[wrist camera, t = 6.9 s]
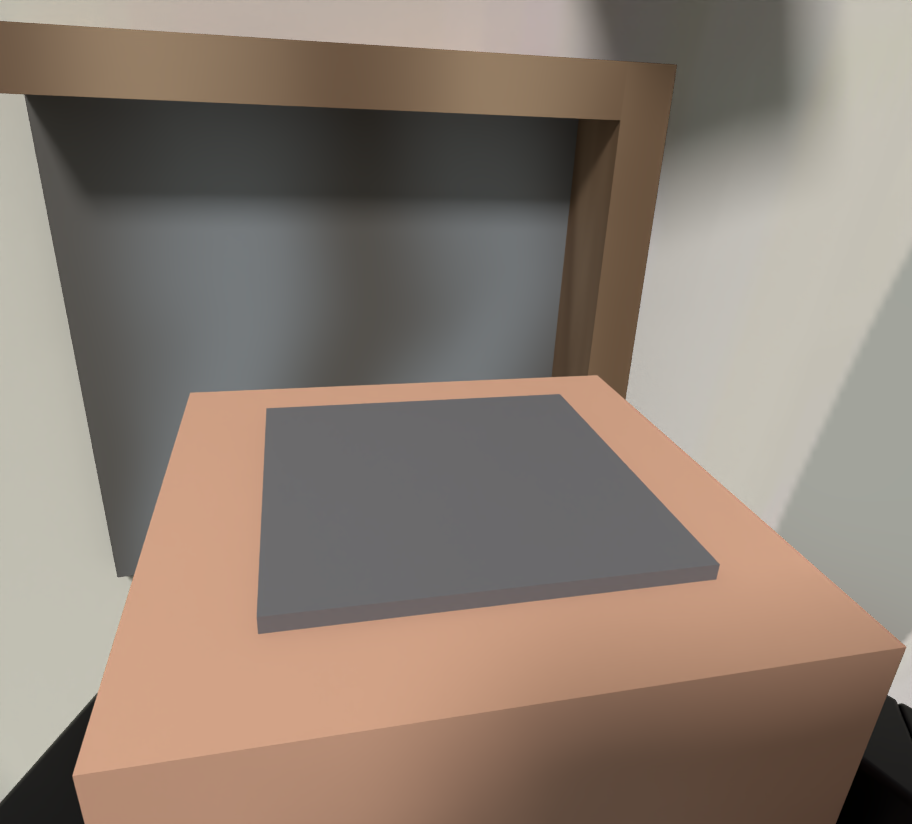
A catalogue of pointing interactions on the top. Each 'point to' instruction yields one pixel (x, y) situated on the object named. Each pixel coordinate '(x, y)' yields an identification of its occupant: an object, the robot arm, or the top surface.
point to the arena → (328, 221)
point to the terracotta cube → (470, 624)
